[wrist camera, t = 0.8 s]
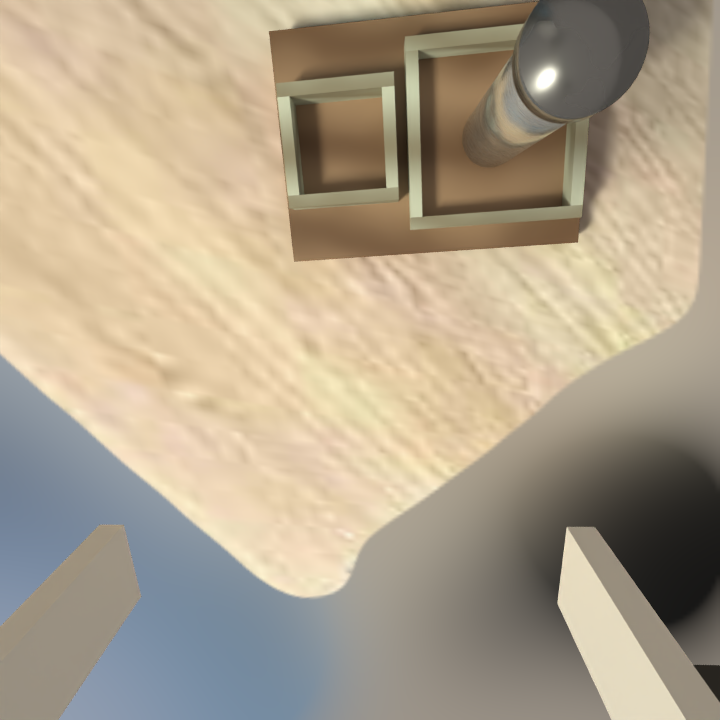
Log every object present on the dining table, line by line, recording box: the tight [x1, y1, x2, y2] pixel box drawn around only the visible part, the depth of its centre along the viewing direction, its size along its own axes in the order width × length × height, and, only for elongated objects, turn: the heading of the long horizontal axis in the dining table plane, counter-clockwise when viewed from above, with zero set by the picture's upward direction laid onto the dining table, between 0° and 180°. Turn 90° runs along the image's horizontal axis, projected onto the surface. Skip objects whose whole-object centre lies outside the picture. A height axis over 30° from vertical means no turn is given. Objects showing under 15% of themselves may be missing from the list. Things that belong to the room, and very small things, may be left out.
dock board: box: [269, 1, 589, 262], centre depth 29 cm, size 15×21×4 cm
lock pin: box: [462, 0, 649, 168], centre depth 22 cm, size 5×5×14 cm
